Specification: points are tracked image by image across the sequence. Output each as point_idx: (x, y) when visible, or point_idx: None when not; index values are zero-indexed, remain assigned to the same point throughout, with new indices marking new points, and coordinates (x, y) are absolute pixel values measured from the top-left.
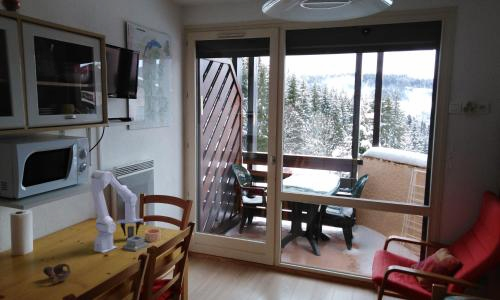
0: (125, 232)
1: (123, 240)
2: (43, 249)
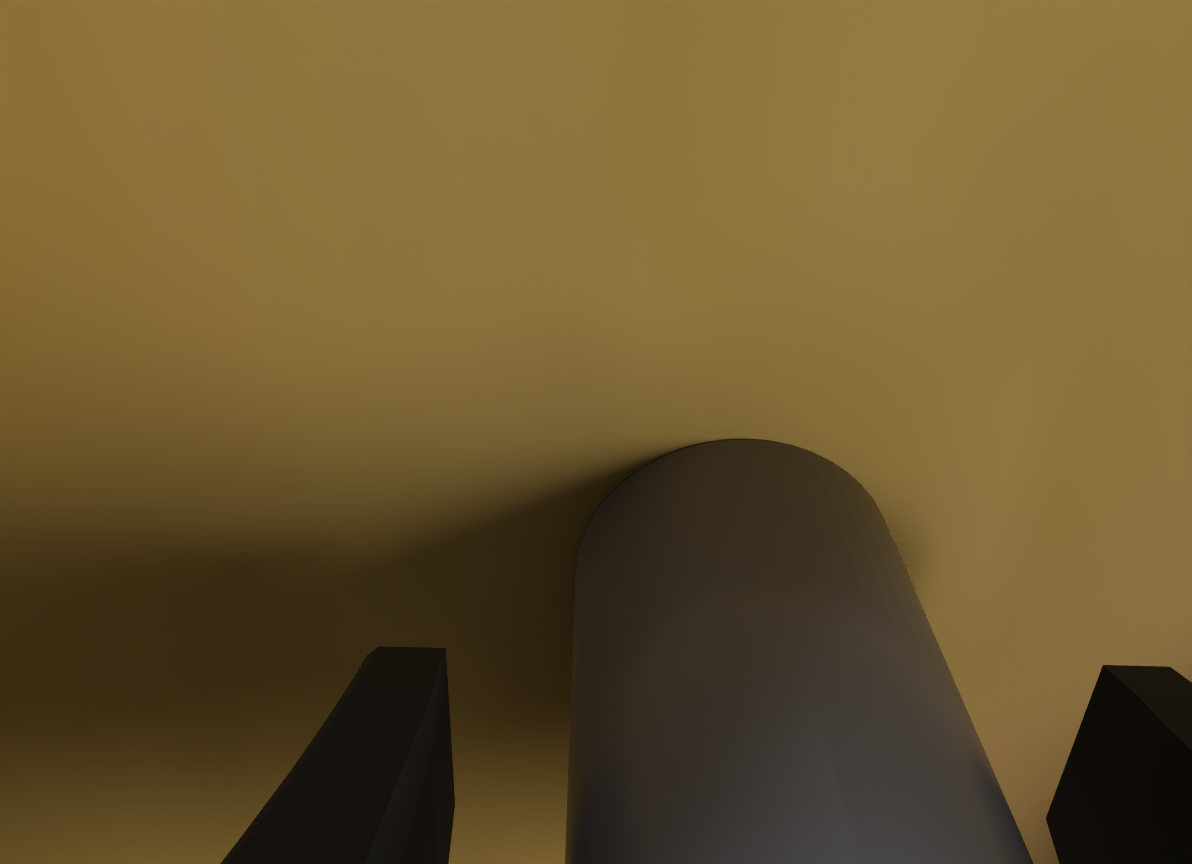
0: (415, 835)
1: None
2: None
